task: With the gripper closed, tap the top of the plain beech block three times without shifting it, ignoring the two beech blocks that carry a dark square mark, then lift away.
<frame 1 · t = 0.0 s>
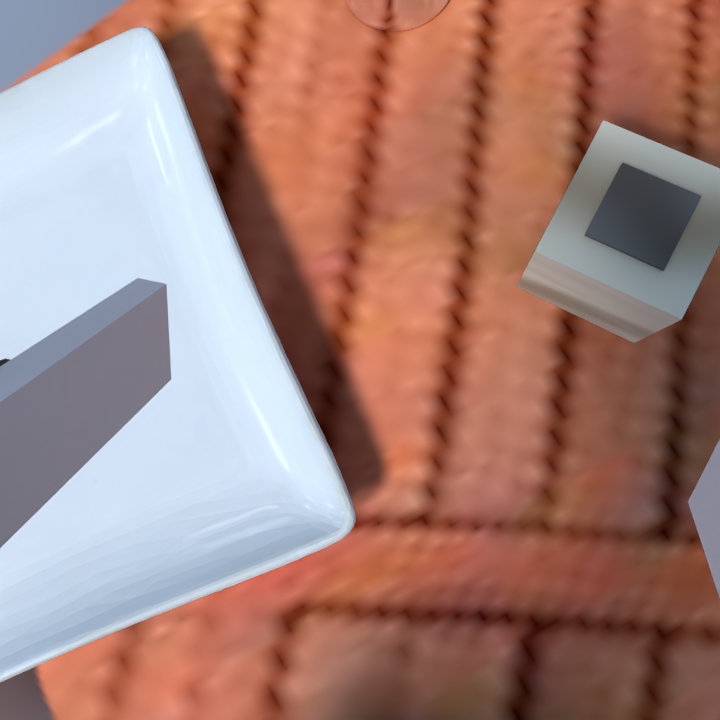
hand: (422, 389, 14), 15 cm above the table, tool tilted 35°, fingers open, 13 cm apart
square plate: (40, 381, 33), on the table
marked block a: (602, 260, 29), on the table
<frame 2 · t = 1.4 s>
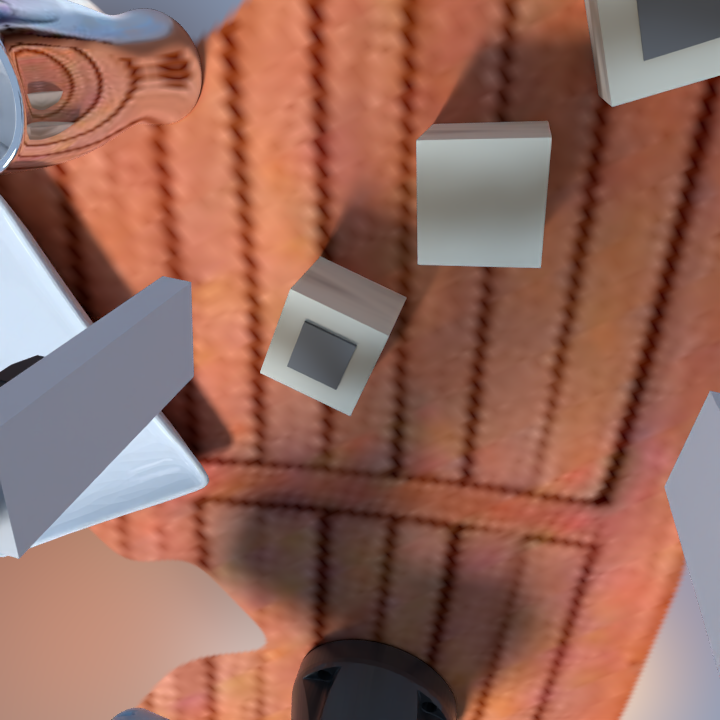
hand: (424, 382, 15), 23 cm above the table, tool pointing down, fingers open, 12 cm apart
plain block: (487, 179, 34), on the table
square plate: (17, 377, 51), on the table
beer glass: (156, 68, 36), on the table
marked block b: (656, 8, 29), on the table
marked block a: (347, 315, 40), on the table
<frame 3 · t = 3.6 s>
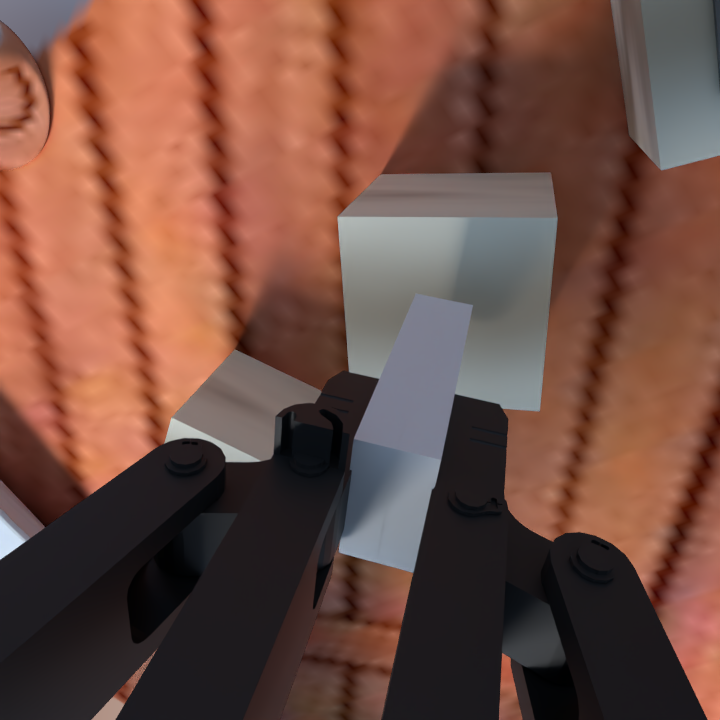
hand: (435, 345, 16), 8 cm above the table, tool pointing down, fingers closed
plain block: (461, 253, 23), on the table
marked block a: (275, 424, 29), on the table
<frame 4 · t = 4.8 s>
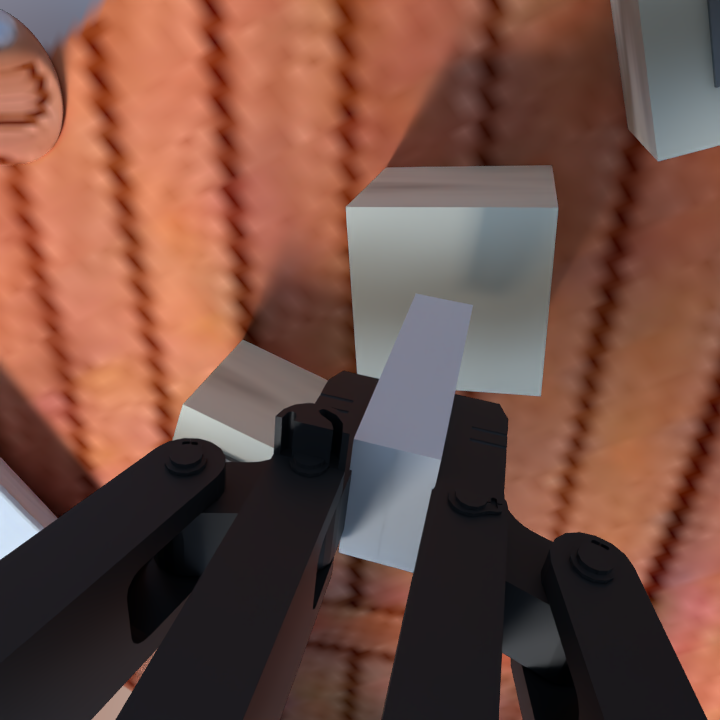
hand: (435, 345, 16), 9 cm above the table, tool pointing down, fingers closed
plain block: (464, 245, 24), on the table
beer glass: (2, 87, 26), on the table
marked block a: (282, 413, 30), on the table
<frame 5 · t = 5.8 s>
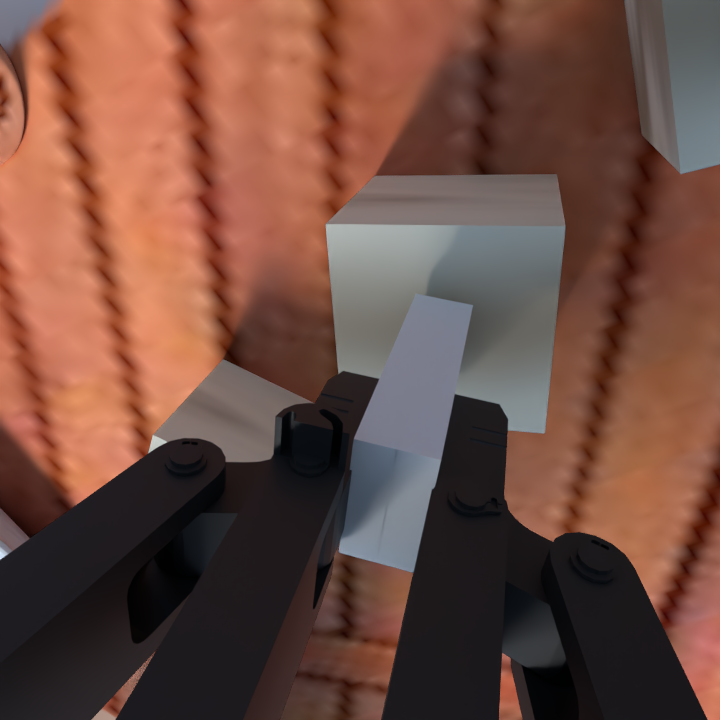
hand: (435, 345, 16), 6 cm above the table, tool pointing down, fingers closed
plain block: (461, 260, 22), on the table
marked block a: (266, 437, 28), on the table
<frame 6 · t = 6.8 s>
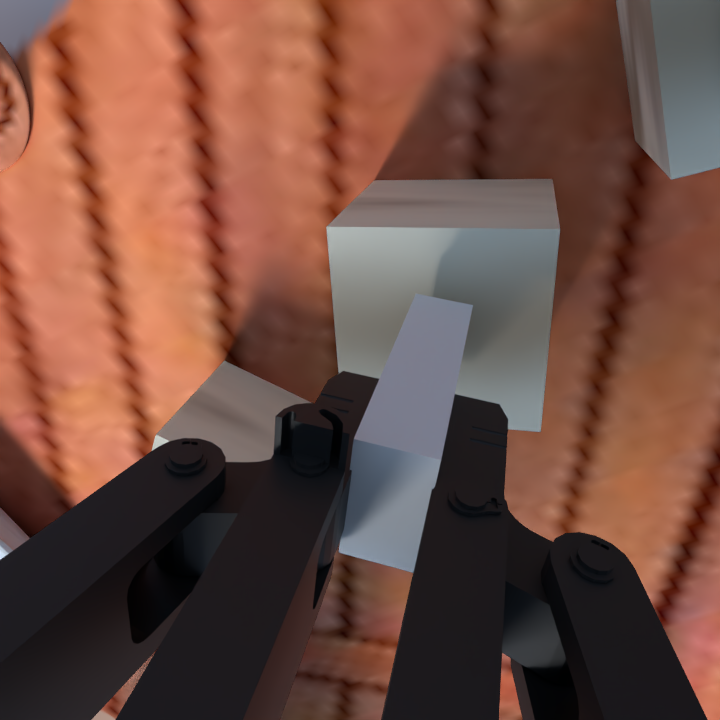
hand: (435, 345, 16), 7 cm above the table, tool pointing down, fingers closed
plain block: (458, 263, 22), on the table
marked block a: (267, 438, 28), on the table
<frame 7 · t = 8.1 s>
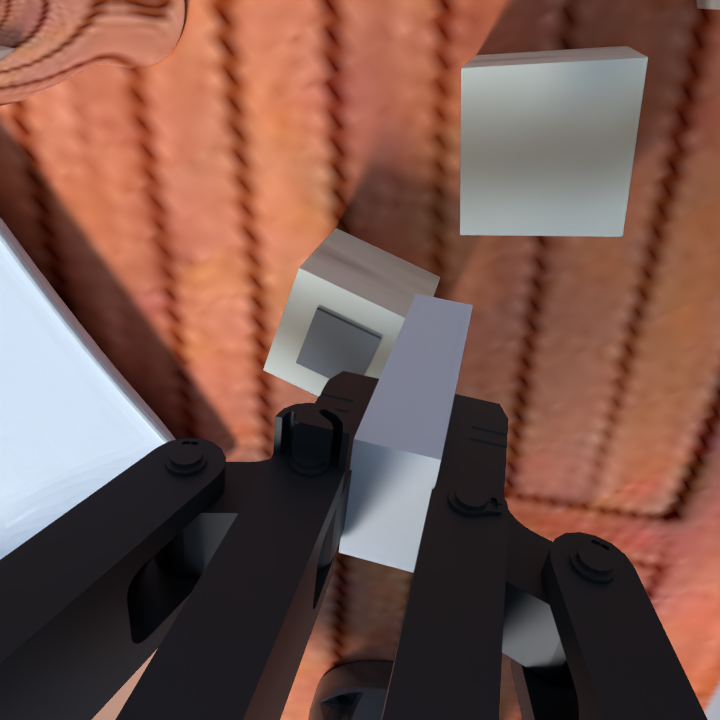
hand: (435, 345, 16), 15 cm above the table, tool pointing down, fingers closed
plain block: (544, 126, 27), on the table
marked block a: (367, 299, 33), on the table
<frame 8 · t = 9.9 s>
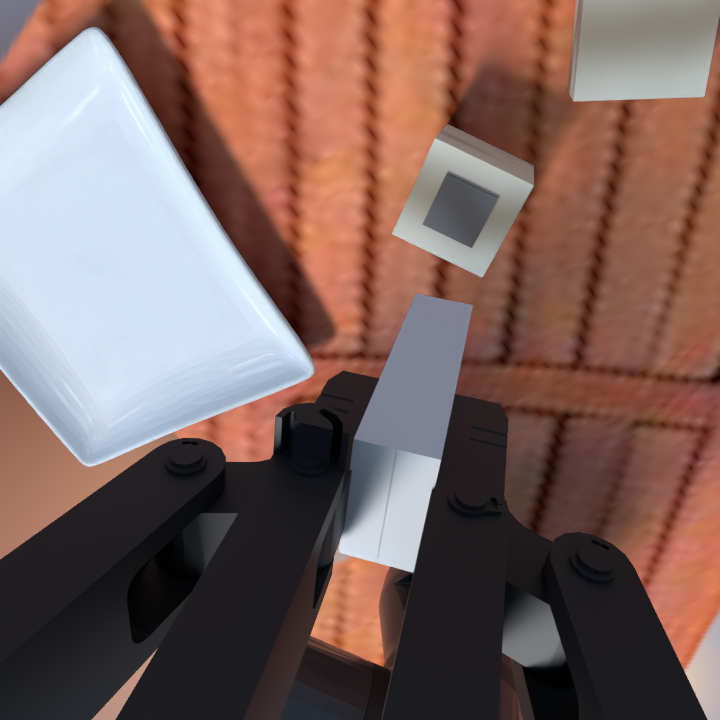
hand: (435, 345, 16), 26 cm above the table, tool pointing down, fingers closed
plain block: (629, 29, 34), on the table
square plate: (115, 276, 51), on the table
marked block a: (468, 188, 40), on the table
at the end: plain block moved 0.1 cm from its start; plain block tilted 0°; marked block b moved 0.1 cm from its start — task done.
